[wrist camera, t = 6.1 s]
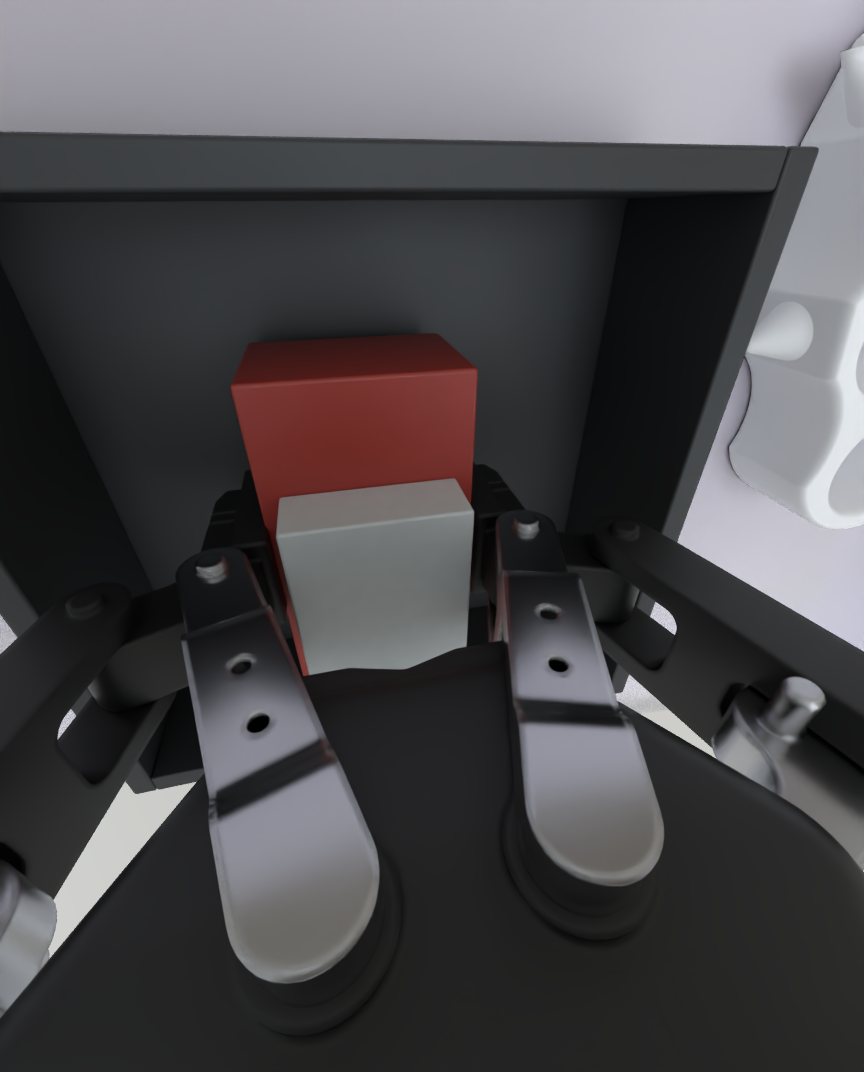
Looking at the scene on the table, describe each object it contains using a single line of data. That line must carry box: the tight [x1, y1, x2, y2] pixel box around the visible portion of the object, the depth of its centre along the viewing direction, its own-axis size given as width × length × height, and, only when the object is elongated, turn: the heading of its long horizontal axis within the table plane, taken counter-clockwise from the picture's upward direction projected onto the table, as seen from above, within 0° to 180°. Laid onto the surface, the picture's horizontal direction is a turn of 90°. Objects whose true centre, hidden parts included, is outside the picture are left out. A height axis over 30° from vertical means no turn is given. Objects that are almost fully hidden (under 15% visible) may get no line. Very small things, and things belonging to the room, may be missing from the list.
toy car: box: [230, 333, 478, 676], centre depth 11 cm, size 8×4×5 cm, turn 0°
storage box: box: [0, 132, 819, 794], centre depth 12 cm, size 15×14×5 cm
